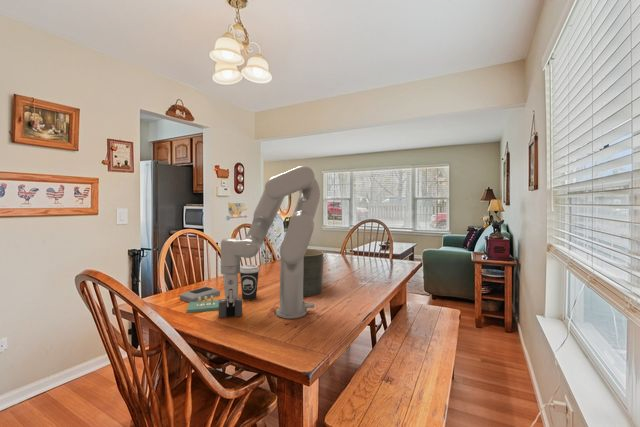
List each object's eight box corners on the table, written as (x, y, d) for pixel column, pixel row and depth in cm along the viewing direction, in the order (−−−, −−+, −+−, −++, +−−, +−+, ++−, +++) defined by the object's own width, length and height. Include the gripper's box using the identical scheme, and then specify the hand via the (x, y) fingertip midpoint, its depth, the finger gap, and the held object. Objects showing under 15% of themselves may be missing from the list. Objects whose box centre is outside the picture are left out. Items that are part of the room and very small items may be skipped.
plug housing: (241, 312, 125) (241, 297, 125) (242, 315, 121) (242, 300, 121) (218, 314, 122) (218, 299, 122) (218, 317, 119) (218, 302, 118)
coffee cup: (263, 297, 144) (263, 266, 143) (246, 302, 137) (246, 269, 136) (252, 293, 150) (252, 263, 150) (235, 297, 144) (235, 266, 143)
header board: (222, 302, 137) (222, 291, 137) (222, 309, 128) (222, 298, 128) (189, 304, 133) (189, 294, 133) (186, 312, 123) (186, 301, 123)
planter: (319, 298, 144) (319, 256, 143) (274, 295, 148) (274, 254, 147) (325, 285, 166) (326, 249, 165) (286, 283, 169) (287, 248, 169)
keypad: (179, 292, 140) (207, 285, 153) (179, 300, 140) (207, 292, 153) (192, 296, 135) (220, 288, 147) (192, 304, 135) (220, 295, 148)
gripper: (241, 273, 114) (241, 321, 115) (239, 264, 130) (239, 306, 131) (220, 274, 112) (220, 323, 113) (220, 265, 128) (220, 308, 129)
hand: (230, 313), depth 122 cm, fingers closed on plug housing, 4 cm apart
